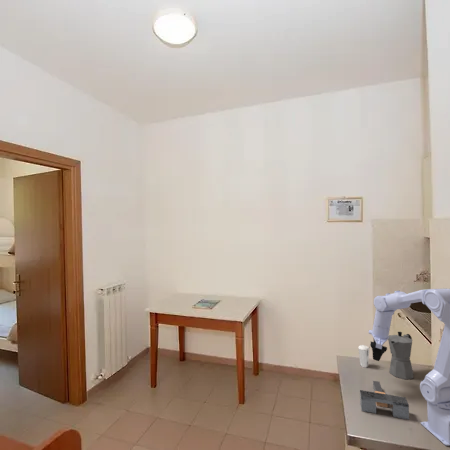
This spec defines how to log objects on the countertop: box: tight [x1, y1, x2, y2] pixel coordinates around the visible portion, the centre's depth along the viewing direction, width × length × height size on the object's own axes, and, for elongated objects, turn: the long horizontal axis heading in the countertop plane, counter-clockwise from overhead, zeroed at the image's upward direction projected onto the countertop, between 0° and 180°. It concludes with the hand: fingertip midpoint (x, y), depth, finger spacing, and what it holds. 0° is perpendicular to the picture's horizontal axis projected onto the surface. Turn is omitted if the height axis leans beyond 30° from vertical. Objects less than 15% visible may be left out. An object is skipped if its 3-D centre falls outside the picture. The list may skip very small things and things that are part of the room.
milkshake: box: [357, 344, 371, 369], centre depth 127 cm, size 4×5×10 cm
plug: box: [372, 380, 389, 408], centre depth 103 cm, size 12×3×3 cm, turn 160°
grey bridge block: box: [359, 389, 410, 421], centre depth 95 cm, size 4×14×5 cm, turn 70°
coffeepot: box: [387, 331, 414, 380], centre depth 120 cm, size 15×9×18 cm, turn 121°
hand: (376, 354), depth 112 cm, fingers open, 7 cm apart
